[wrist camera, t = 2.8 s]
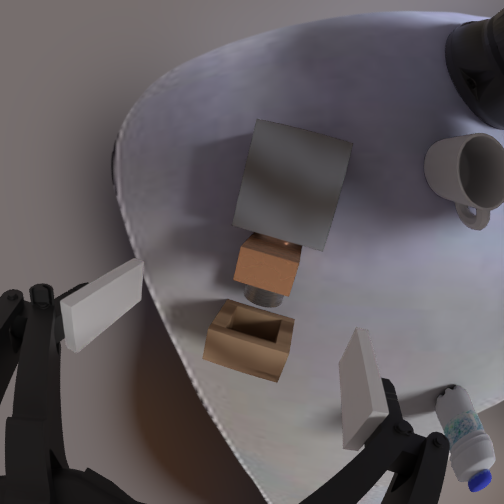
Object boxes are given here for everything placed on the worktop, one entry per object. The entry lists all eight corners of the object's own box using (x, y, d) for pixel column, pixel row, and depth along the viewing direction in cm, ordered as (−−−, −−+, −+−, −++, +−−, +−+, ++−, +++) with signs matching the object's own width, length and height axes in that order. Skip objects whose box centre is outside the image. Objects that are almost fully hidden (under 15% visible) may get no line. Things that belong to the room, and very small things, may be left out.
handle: (284, 132, 29) (272, 115, 20) (328, 143, 28) (335, 131, 19) (246, 283, 35) (223, 323, 26) (285, 294, 34) (274, 339, 25)
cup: (463, 136, 25) (503, 130, 17) (478, 215, 27) (517, 230, 19) (415, 144, 27) (448, 137, 19) (432, 227, 29) (466, 246, 21)
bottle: (453, 409, 35) (482, 496, 17) (425, 409, 36) (449, 504, 18) (472, 381, 33) (513, 469, 14) (444, 380, 34) (482, 478, 15)
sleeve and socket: (267, 129, 30) (254, 118, 23) (345, 149, 29) (355, 143, 22) (221, 326, 39) (202, 358, 32) (284, 346, 38) (277, 382, 30)
